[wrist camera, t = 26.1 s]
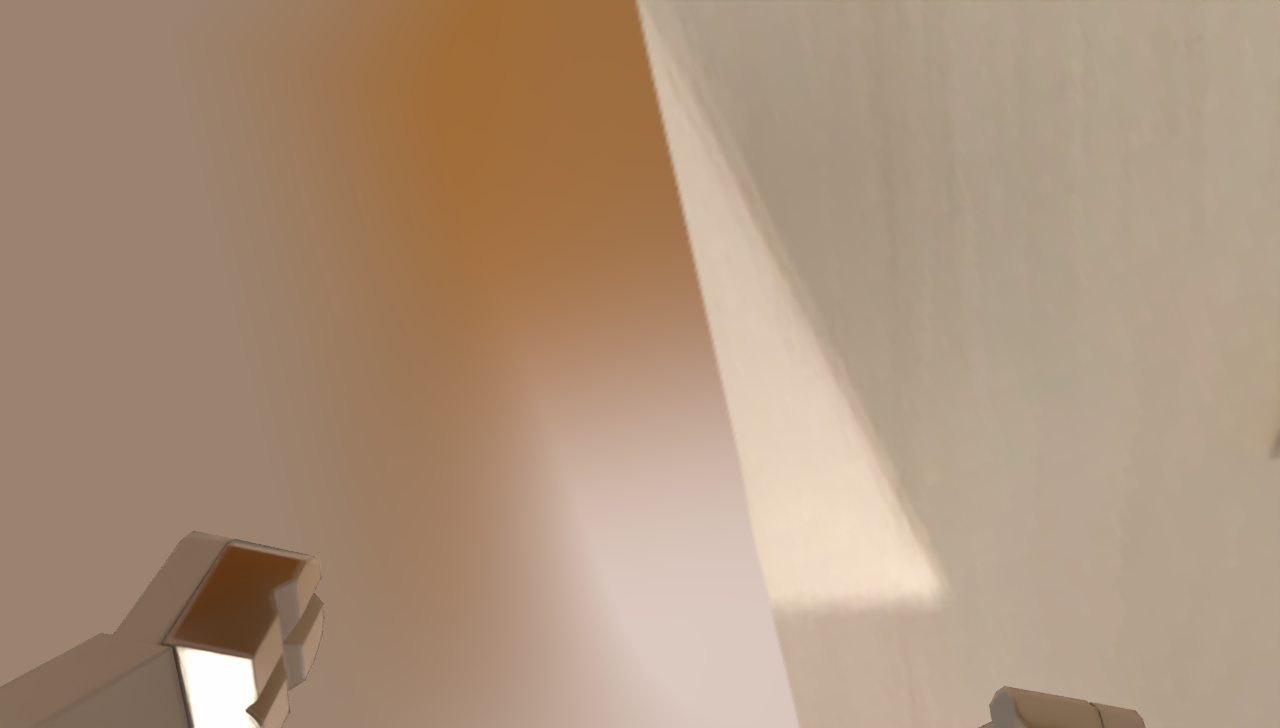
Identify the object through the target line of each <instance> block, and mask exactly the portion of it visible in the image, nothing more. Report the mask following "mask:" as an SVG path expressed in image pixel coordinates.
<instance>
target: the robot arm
mask: <svg viewBox="0 0 1280 728" xmlns="http://www.w3.org/2000/svg"><path fill="white" fill-rule="evenodd" d="M321 578H322V576H321V568H320V560H319V558H317V557H315V556H310V555H307V554H302V553H297V552H293V551H288V550H283V549H278V548H274V547H270V546H265V545H261V544H256V543H251V542H247V541H242V540H237V539H231V538H226V537H222V536H217V535H212V534H207V533H202V532H197V531H193V532H191V533H190V534H189V535H187V536H186V537H184V538H183V539H182V540H181V541H180V542H179V543H178V545H177V546H176V548H175V549H174V551H173V552H172V553H171V555H170V556H169V558H168V559H167V560H166V562H165V563H164V565H163V566H162V567H161V569H160V570H159V571H158V573H157V574H156V576H155V577H154V578H153V580H152V581H151V583H150V584H149V585H148V587H147V588H146V590H145V591H144V592H143V594H142V595H141V597H140V598H139V599H138V601H137V602H136V604H135V605H134V607H133V608H132V609H131V611H130V612H129V613H128V615H127V616H126V618H125V619H124V620H123V622H122V623H121V625H120V626H119V628H118V629H117V631H116V632H115V633H114V635H108V634H102V633H100V634H98V635H96V636H94V637H93V638H91V639H89V640H87V641H85V642H83V643H81V644H80V645H78V646H76V647H74V648H72V649H70V650H68V651H67V652H65V653H63V654H61V655H59V656H57V657H55V658H53V659H52V660H50V661H48V662H46V663H44V664H42V665H41V666H39V667H37V668H35V669H33V670H31V671H29V672H27V673H26V674H24V675H22V676H20V677H18V678H16V679H14V680H12V681H11V682H9V683H7V684H5V685H3V686H1V687H0V728H282V727H283V725H284V723H285V721H286V719H287V717H288V715H289V713H290V706H289V696H288V691H290V690H291V689H293V688H294V687H296V686H297V685H299V684H300V683H302V682H303V681H305V680H306V678H307V676H308V674H309V672H310V670H311V668H312V665H313V663H314V661H315V658H316V655H317V652H318V649H319V645H320V641H321V638H322V634H323V626H324V603H323V602H322V601H321V600H320V599H319V597H318V596H317V595H316V594H315V593H314V592H315V590H316V588H317V586H318V584H319V582H320V580H321ZM989 707H990V713H991V718H992V721H991V722H989V723H987V724H985V725H983V726H981V727H979V728H1146V727H1145V724H1144V721H1143V719H1142V718H1141V717H1140V715H1139V714H1138V713H1137V712H1136V711H1135V710H1129V709H1124V708H1119V707H1114V706H1108V705H1103V704H1098V703H1092V702H1091V703H1089V702H1087V701H1085V700H1080V699H1074V698H1068V697H1063V696H1057V695H1052V694H1046V693H1040V692H1035V691H1029V690H1023V689H1018V688H1012V687H1006V686H1004V687H1003V688H1001V689H1000V690H998V691H997V692H996V694H995V696H994V697H993V699H992V701H991V703H990V705H989Z"/></svg>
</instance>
